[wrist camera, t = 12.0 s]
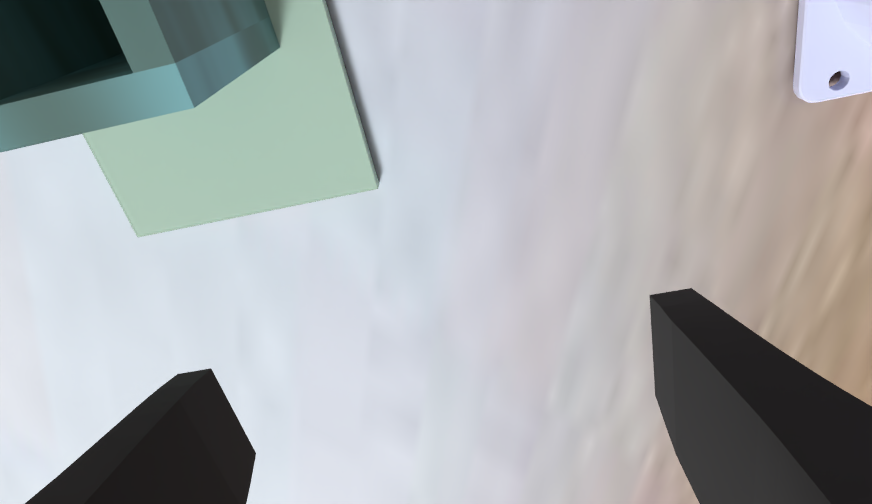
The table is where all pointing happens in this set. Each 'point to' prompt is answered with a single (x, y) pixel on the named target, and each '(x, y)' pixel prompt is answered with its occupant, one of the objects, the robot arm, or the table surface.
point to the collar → (119, 61)
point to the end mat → (247, 137)
